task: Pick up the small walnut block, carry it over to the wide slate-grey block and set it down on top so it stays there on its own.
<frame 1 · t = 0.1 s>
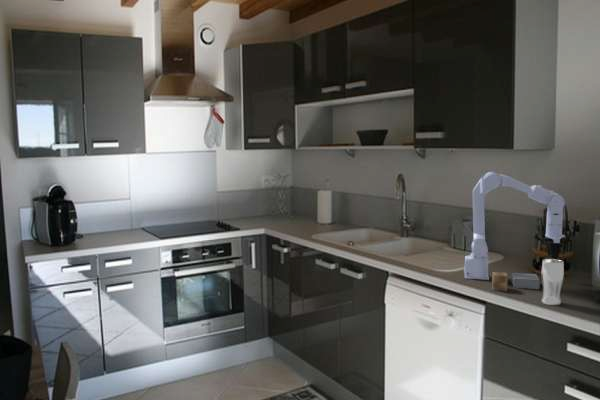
hand: (552, 257, 205), 10 cm above the worktop, tool pointing down, fingers open, 7 cm apart
slate block: (524, 286, 202), on the worktop
beer glass: (550, 303, 180), on the worktop
walnut block: (499, 289, 197), on the worktop
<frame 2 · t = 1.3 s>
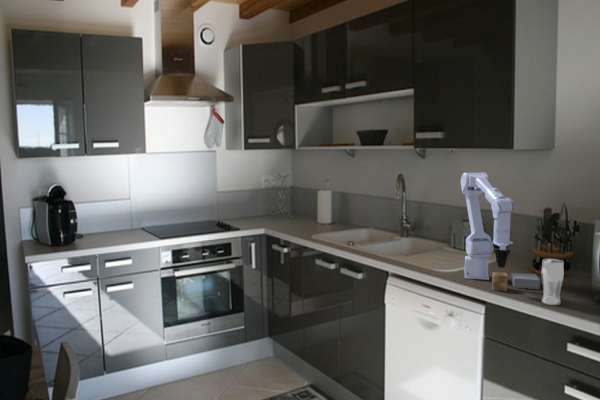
hand: (500, 265, 196), 9 cm above the worktop, tool pointing down, fingers open, 7 cm apart
nothing on the worktop moved.
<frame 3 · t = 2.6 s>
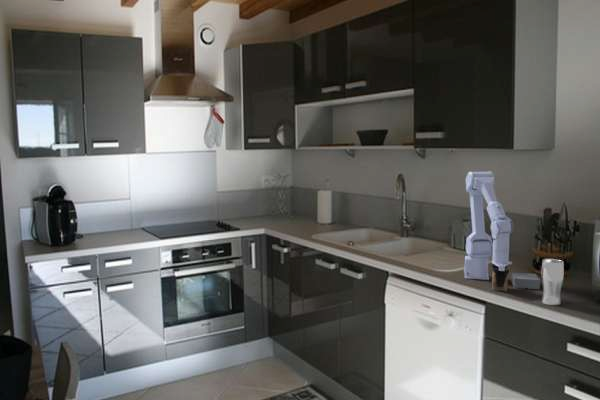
hand: (499, 284, 197), 2 cm above the worktop, tool pointing down, fingers closed on walnut block, 5 cm apart
walnut block: (499, 289, 197), on the worktop, touching gripper
everything else where it was.
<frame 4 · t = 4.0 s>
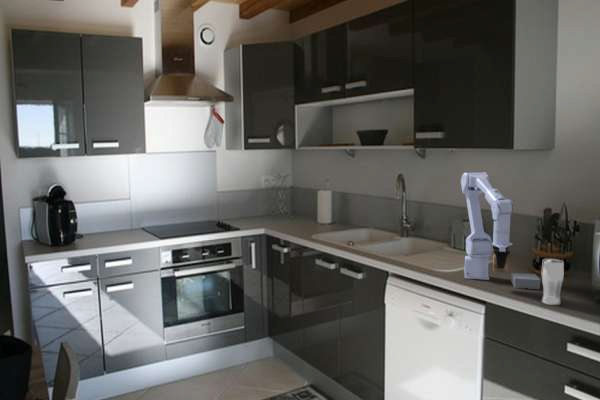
hand: (500, 266, 196), 9 cm above the worktop, tool pointing down, fingers closed on walnut block, 5 cm apart
walnut block: (500, 270, 196), point 7 cm above the worktop, touching gripper
everything else where it was.
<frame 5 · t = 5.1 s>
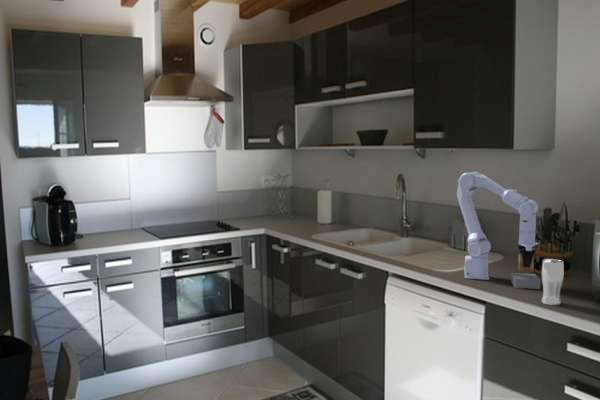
hand: (525, 265, 201), 8 cm above the worktop, tool pointing down, fingers closed on walnut block, 5 cm apart
walnut block: (525, 269, 201), point 6 cm above the worktop, touching gripper
everything else where it was.
when the fingers open (7 cm above the worktop, at t = 5.7 s): walnut block drops 2 cm, point 4 cm above the worktop.
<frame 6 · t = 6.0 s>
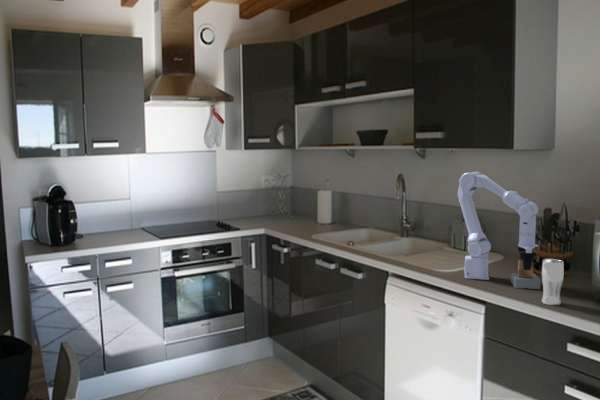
hand: (525, 267, 201), 7 cm above the worktop, tool pointing down, fingers open, 7 cm apart
walnut block: (524, 276, 201), point 4 cm above the worktop
everything else where it was.
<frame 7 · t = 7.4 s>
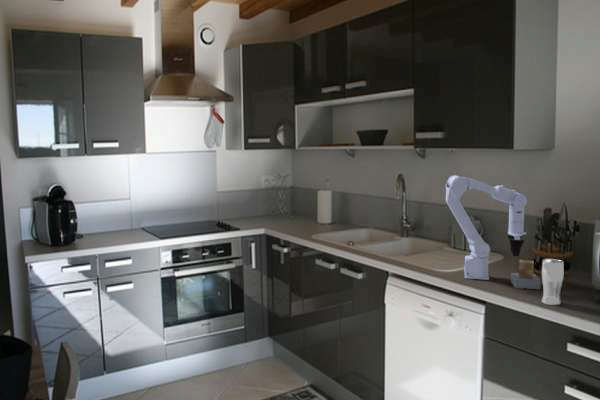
hand: (514, 254, 212), 10 cm above the worktop, tool pointing down, fingers open, 7 cm apart
slate block: (524, 286, 202), on the worktop, touching walnut block
walnut block: (525, 276, 201), point 4 cm above the worktop, touching slate block
everything else where it was.
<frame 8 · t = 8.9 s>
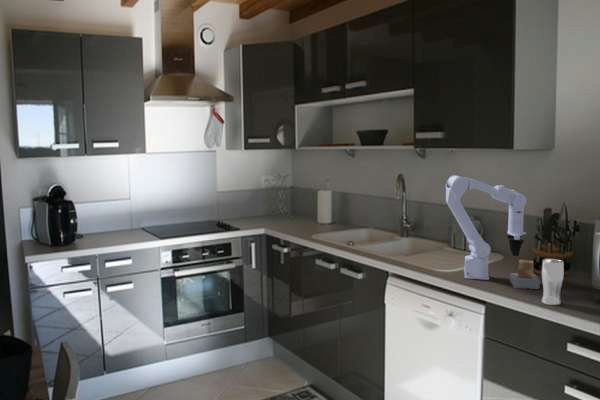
hand: (514, 253, 213), 10 cm above the worktop, tool pointing down, fingers open, 7 cm apart
slate block: (524, 286, 202), on the worktop
walnut block: (525, 276, 201), point 4 cm above the worktop
everything else where it was.
at the end: walnut block 0.4 cm off-centre on the slate block, point 4.0 cm above the slate block's base; walnut block tilted 0°; the gripper is holding nothing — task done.
